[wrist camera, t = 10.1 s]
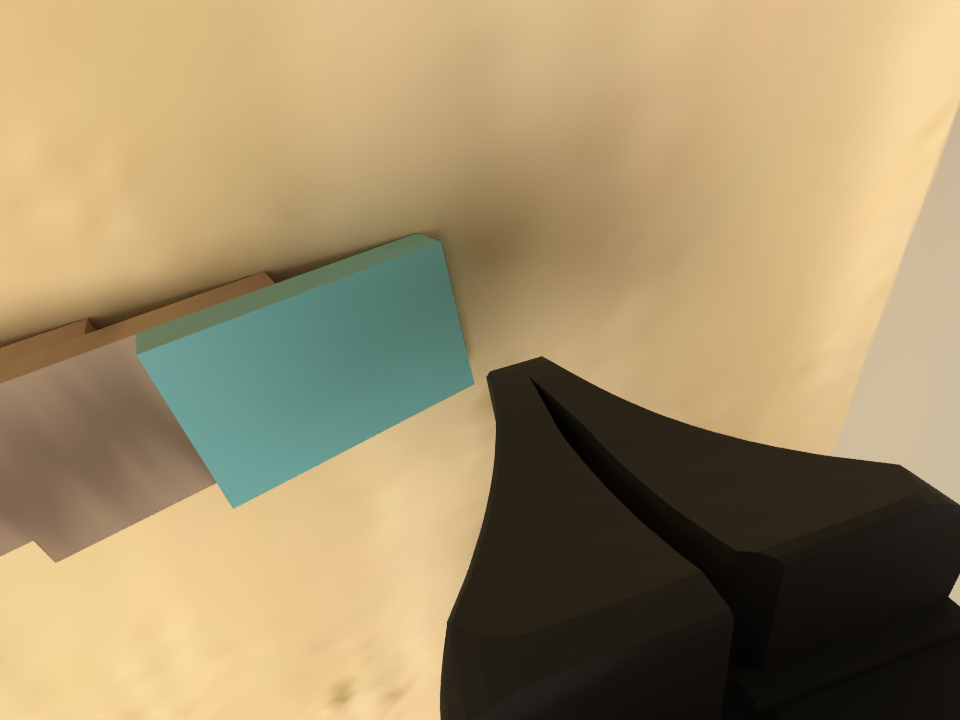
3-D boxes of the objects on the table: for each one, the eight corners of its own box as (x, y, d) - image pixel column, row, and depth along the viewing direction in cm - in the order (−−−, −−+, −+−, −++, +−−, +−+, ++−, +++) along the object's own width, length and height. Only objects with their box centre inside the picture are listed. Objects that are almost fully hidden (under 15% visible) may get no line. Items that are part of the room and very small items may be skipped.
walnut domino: (335, 423, 16) (55, 563, 13) (322, 403, 17) (62, 526, 14) (275, 283, 14) (-90, 416, 11) (264, 271, 15) (-67, 387, 12)
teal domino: (474, 383, 17) (233, 508, 14) (451, 366, 18) (225, 478, 15) (441, 241, 14) (135, 355, 11) (416, 232, 15) (135, 333, 12)
